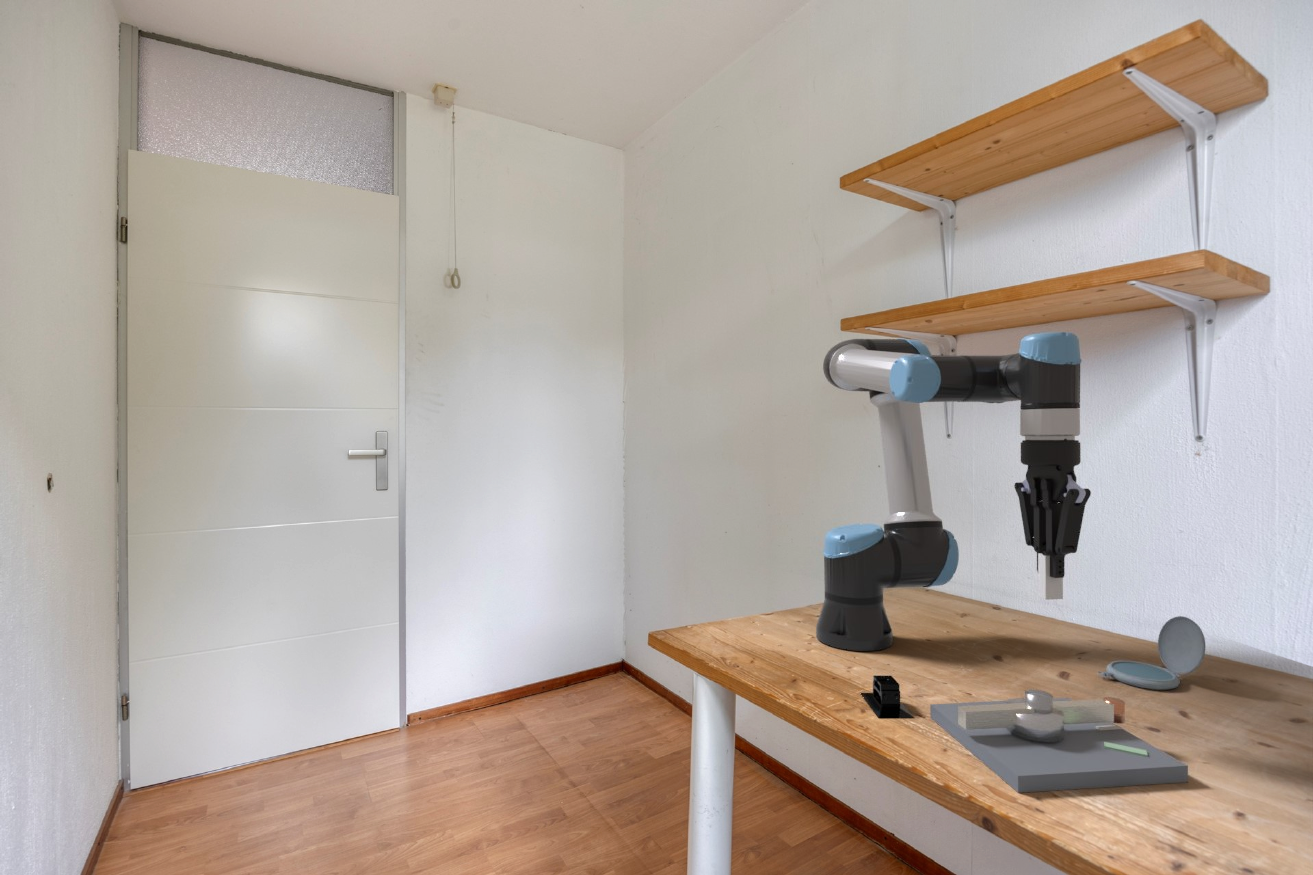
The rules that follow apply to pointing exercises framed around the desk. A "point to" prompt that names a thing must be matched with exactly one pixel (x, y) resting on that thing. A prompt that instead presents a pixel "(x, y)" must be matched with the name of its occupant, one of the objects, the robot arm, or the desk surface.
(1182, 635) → the pocket watch
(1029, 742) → the stand
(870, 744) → the desk surface
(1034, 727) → the rotary pointer lever
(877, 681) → the black stepped block
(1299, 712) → the desk surface
